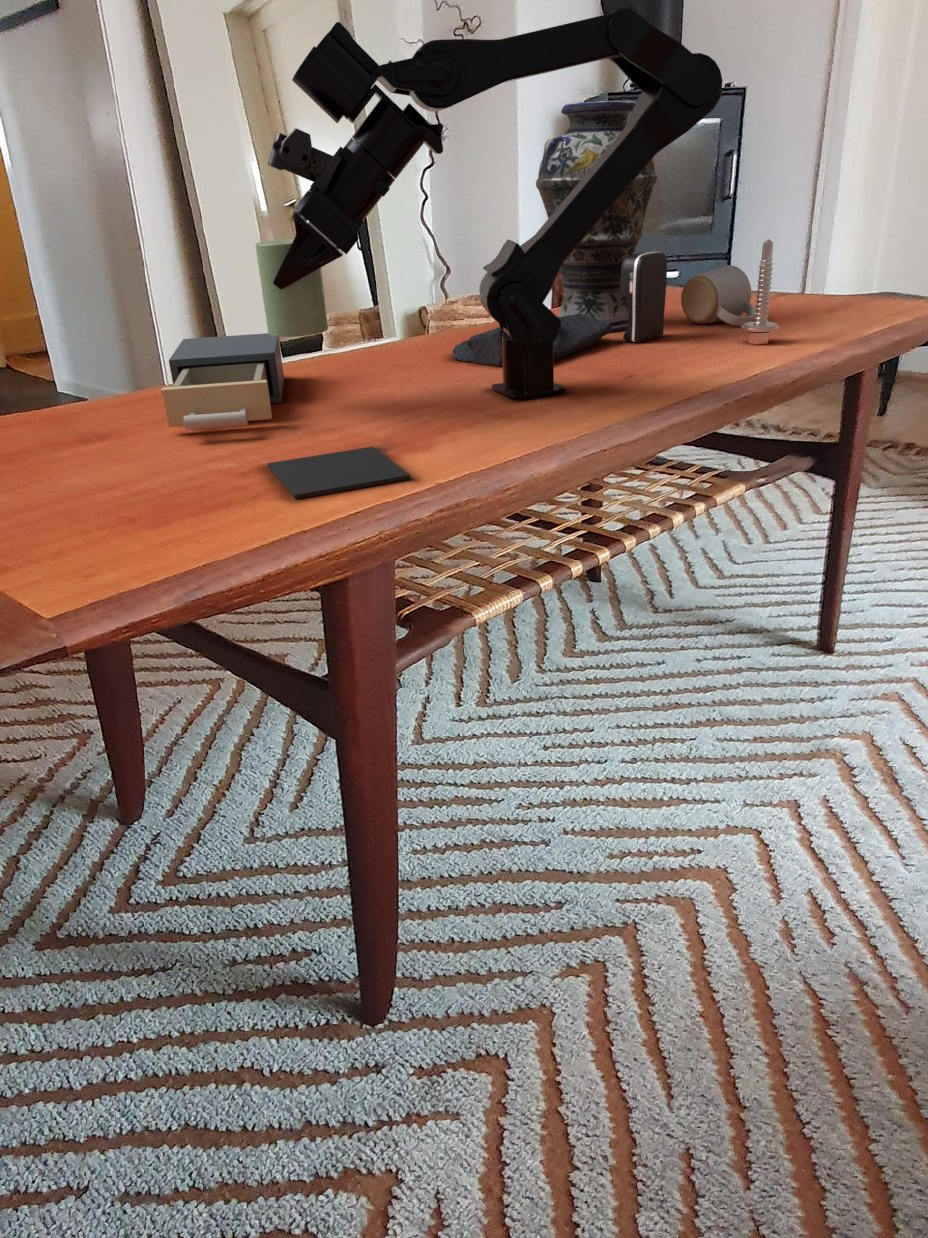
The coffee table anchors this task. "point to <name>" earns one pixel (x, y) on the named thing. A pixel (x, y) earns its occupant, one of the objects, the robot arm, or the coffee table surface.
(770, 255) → the screw
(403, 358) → the coffee table surface
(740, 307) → the ceramic mug
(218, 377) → the drawer
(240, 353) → the cabinet
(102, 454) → the coffee table surface
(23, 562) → the coffee table surface
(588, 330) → the dark slate chunk
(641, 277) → the battery charger
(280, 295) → the can
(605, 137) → the vase
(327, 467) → the coaster
